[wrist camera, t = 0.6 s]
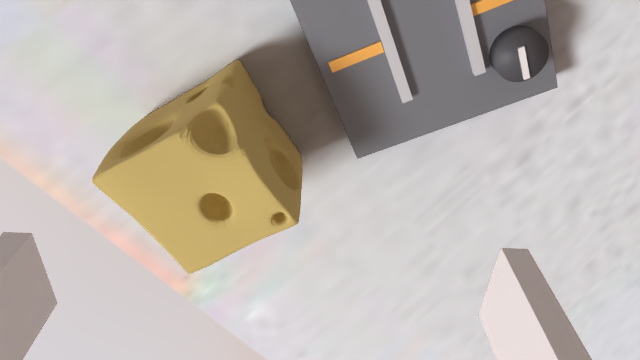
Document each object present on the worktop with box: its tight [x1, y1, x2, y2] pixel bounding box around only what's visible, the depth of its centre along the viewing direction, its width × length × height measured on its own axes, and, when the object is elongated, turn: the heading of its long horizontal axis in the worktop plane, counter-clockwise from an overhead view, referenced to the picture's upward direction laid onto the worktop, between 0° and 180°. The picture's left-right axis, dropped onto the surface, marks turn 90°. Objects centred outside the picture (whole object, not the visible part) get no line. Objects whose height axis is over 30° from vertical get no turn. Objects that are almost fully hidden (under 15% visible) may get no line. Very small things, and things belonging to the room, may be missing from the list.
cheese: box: [92, 60, 302, 274], centre depth 35 cm, size 10×11×10 cm
